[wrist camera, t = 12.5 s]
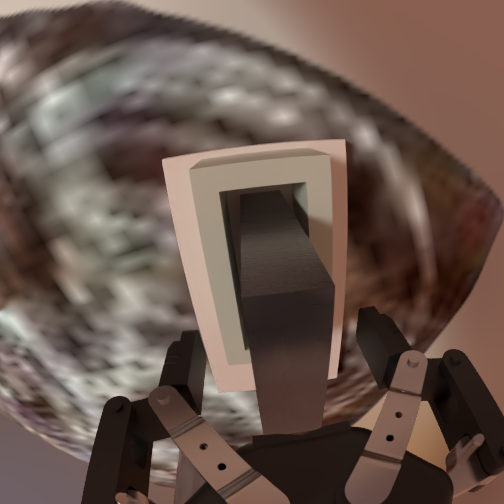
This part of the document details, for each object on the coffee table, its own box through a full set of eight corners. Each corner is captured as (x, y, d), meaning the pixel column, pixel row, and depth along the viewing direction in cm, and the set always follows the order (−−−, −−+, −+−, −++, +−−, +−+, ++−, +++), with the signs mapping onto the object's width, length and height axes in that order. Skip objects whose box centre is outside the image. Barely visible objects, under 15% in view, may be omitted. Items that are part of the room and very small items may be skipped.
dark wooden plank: (240, 194, 22) (241, 297, 9) (279, 190, 22) (335, 285, 9) (252, 294, 25) (263, 436, 13) (286, 290, 25) (320, 428, 13)
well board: (334, 371, 32) (348, 413, 26) (219, 386, 32) (217, 430, 26) (340, 138, 21) (376, 145, 15) (165, 158, 21) (137, 170, 15)
